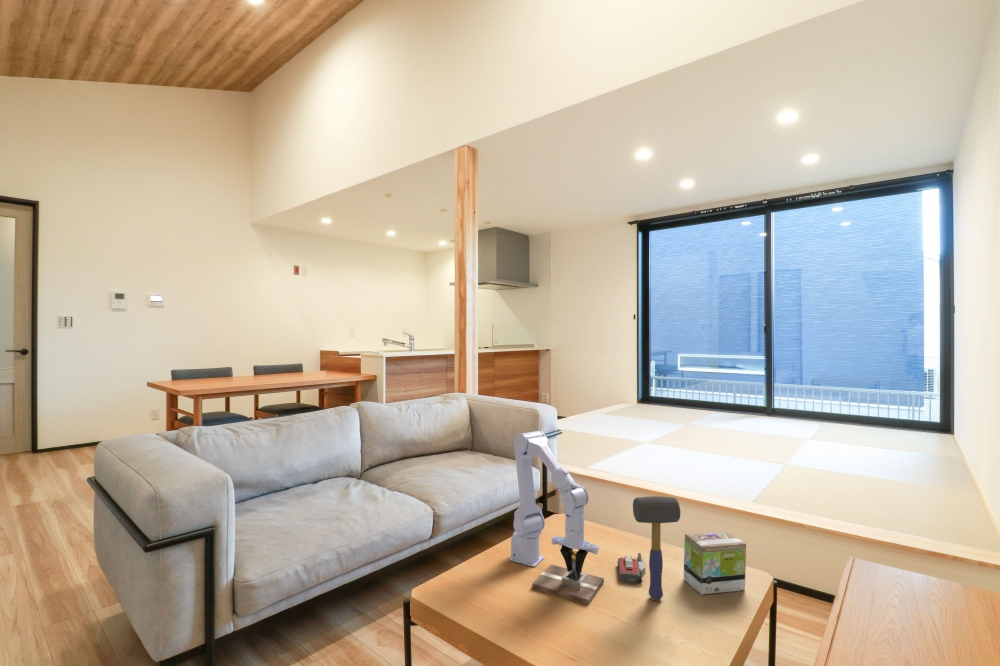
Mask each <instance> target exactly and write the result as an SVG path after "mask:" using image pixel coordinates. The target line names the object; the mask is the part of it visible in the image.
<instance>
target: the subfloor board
mask: <svg viewBox="0 0 1000 666" xmlns="http://www.w3.org/2000/svg"><path fill="white" fill-rule="evenodd" d="M566 572H567V567H566V568H565V567H563V566H559V565H554V564H550V565H548V567H547V568H546V569H544V571H542V572H541V573H540V575H539V576H538V577H537V578H536V579H534V581H533V582H532V583H531V588H532V589H533V588H534V589H533V590H536V589H537V591H539V590H541V591H540V592H543V591H544V592H543V593H546V592H547V594H549V593H551V595H553V594H554V596H556V595H557V596H556V597H560V596H561V597H560V598H563V597H564V598H563V599H566V598H568V599H567V600H570V599H571V601H573V600H575V601H574V602H577V601H578V603H580V602H581V604H583V603H584V605H587V606H589V605H591V602H592V601H593V599H594V598H595V597H596V595H597V594H598V593H599V591H600V589H601V588H602V587H603V586H604V584H603V583H605V578H603V577H600V576H596V575H594V574H589V573H585V572H581V573H584V574H587V582H586V583H585V584H584V585H583V587H582V588H581V590H580V589H576V588H573V587H569V586H565V585H562V577H563V576H564V575H565V574H566ZM571 579H572V578H571ZM574 580H576V579H574ZM578 581H579V580H578Z"/></svg>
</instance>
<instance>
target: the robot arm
mask: <svg viewBox="0 0 1000 666" xmlns="http://www.w3.org/2000/svg"><path fill="white" fill-rule="evenodd" d="M513 448H514V449H513V451H514V456H515V465H516V475H517V477H516V478H517V484H518V485H517V486H518V495H519V497H518V498H519V504H520V505H519V506H518V508H517V509H516V510H515V511H514V513H513V515H514V516H513V517H514V520H513V530H514V532H513V534H512V536H511V538H510V539H511V540H510V558H509V561H510V562H515V563H518V564H521V563H522V565H525V566H530V567H533V568H535V567H537V565H538V564H539V563H540V562H541V561H543V560H544V558H545V556H544V555H540V553H541V552H540V551H541V549H540V547H541V544H540V542H541V541H540V538H541V537H540V536H541V534H542V530H544V529H545V526H546V522H545V517H544V515H543V510H542V508H541V507H539V506H538V505H537V503H536V494H535V484H534V482H535V481H534V474H533V464H532V458H533V457H534V456H537V457H538V458H539V459H540V460H541V461H542V463H543V464H544V465H545V467H546V468H547V470H549V472H550V480H551V482H552V483H553V484H554V485H555V487H556V489H557V491H558V492H559V493H560V495H561V497H560V498H561V499H560V501H561V503H562V506H563V512H564V514H565V520H564V521H565V523H564V524H565V525H564V526H565V528H564V530H565V533H564V536H558V535H554V536H552V537H551V545H558V546H561V548H560V550H559V551H560V554H561V556H562V557H563V560H564V562H565V565H566V568H567V571H568V572H570V571H571V559H570V552H572V551H574V550H577V553H576V559H577V574H578V575H580V573H581V572H582V571H583V565H584V563H585V559H586V557H587V555H588V553H592V554H593V555H598V554H599V548H600V547H599V545H596V544H593V543H591V542H588V541H587V540H585V506H587V504H588V503H589V494H588V491H587V489H586V488H585V487H583V486H582V485H580V484H579V483H576V481H575V480H574V479H573V477H572V476H571V474H570V473H569V471H568V469H567V468H565V467H562V466H560V464H559V463H558V461H557V459H556V457H555V455H554V454H553V452H552V450H551V449H550V447H549V439H548V437H547V436H546V434H545V432H544V431H542V430H540V429H539V430H534V431H529V432H523V433H521V432H520V433H517V434H516V435H515V437H514V438H513ZM582 573H583V572H582Z"/></svg>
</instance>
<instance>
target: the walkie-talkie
mask: <svg viewBox="0 0 1000 666" xmlns="http://www.w3.org/2000/svg"><path fill="white" fill-rule="evenodd" d="M637 556H638V557H637V558H638V559H636V558H633V557H632V556H629V555H624V557H619V558H617V569H618V568H619V569H618V576H619V577H618V579H620V580H619V582H621V581H622V582H621V583H627V582H629V584H638V585H640V584H642V583H643V580H642V579H643V578H642V576H643V575H645V574H646V562H645V561H643V557H642V554H641V552H638V553H637Z"/></svg>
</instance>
